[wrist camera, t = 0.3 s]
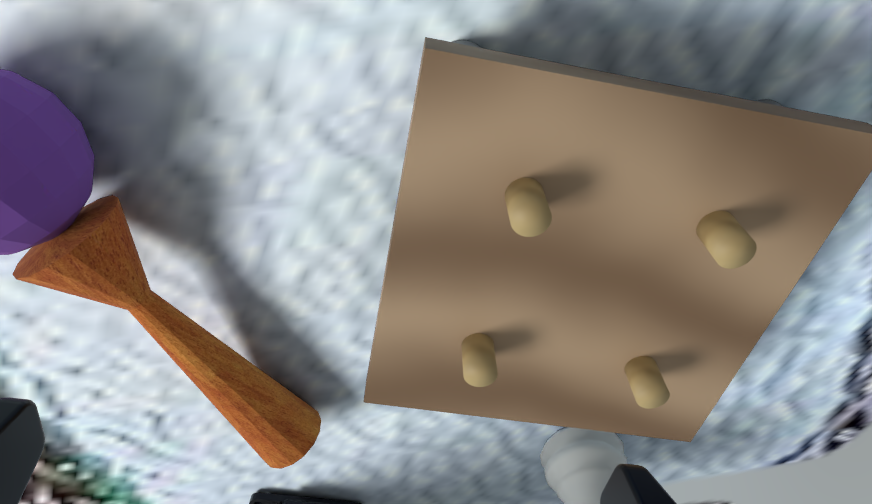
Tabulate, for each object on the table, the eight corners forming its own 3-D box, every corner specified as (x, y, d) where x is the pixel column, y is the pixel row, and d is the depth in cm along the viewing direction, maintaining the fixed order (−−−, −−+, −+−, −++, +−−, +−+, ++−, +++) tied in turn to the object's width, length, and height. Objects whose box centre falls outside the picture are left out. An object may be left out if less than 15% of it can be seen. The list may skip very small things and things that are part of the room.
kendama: (221, 501, 27) (-252, 170, 16) (265, 393, 31) (-81, 73, 20) (325, 490, 25) (-141, 93, 13) (356, 375, 29) (25, 3, 18)
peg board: (659, 373, 28) (704, 472, 23) (372, 334, 26) (359, 432, 22) (816, 93, 20) (930, 159, 16) (425, 16, 19) (424, 64, 14)
